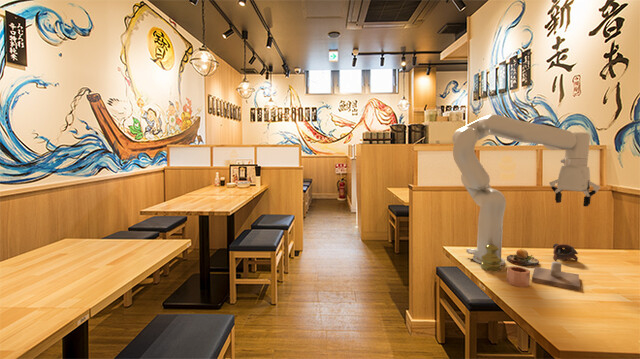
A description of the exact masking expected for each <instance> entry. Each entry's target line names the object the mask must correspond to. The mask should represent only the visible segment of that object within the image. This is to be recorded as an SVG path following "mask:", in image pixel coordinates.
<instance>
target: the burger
mask: <svg viewBox="0 0 640 359" xmlns="http://www.w3.org/2000/svg"><path fill="white" fill-rule="evenodd" d="M515 253H516V254H509V255H507V256H506V261H507V262H510V263H511V264H513V265H516V266H517V265H518V266H521V265H522V266H521V267H527V266H534V267H537V266H539V264H540V263H539V262H540V261H539V259H537V258H535V257H534V256H533V254H531V255H529V252H528V251H527V250H526V249H523V248H519V249H517V250H516V252H515ZM536 265H537V266H536Z"/></svg>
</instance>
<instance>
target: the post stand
mask: <svg viewBox="0 0 640 359" xmlns="http://www.w3.org/2000/svg"><path fill="white" fill-rule="evenodd" d="M531 282H532V283H533V282H534V283H539V284H544V285H549V286H553V287H558V288H564V289H568V290H569V289H570V290H574V291H578V292H580V289H581V284H580V283H581V282H580V274H578V273H574V272H573V273H572V272H566V271H562V262H559V261H551V268H544V267H538V266H534V268H533V273H532V275H531Z"/></svg>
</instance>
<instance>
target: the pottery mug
mask: <svg viewBox="0 0 640 359" xmlns="http://www.w3.org/2000/svg"><path fill="white" fill-rule="evenodd" d="M552 247H553V260H554V262H557V260H559V261H567V260H571V259H573V260H574V261H576V262H578V260H579V257H578V256H577V255H578V254H579V253H578V252H577V250H576V249H575V248H574V247H573V246H572V245H570V244H567V243H561V244H558V243H554V244H553V245H552Z"/></svg>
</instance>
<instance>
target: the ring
mask: <svg viewBox="0 0 640 359" xmlns="http://www.w3.org/2000/svg"><path fill="white" fill-rule="evenodd" d="M530 280H531V270H529V269H528V268H525V267H523V266H521V267H520V266H517V265H516V266H514V265H511V266H508V267H507V269H506V283H507V284H508V285H511V286H515V287H520V288H527V287H530Z"/></svg>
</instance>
